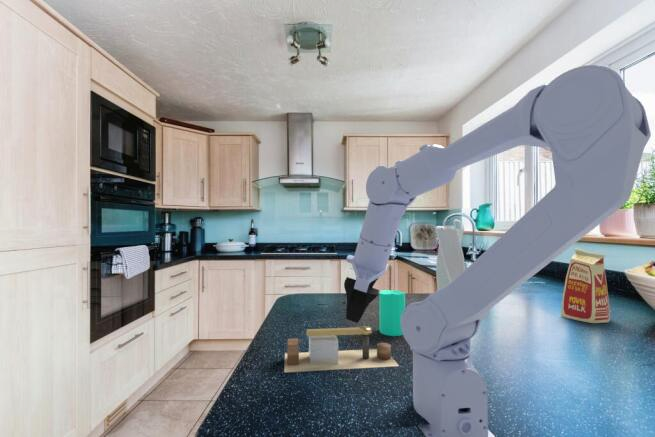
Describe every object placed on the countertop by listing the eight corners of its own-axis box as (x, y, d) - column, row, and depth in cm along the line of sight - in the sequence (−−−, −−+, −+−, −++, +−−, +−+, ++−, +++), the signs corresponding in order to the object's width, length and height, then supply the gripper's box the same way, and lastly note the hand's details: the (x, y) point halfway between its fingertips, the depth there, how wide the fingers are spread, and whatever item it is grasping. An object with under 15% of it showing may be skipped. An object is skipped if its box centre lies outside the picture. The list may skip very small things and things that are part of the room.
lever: (372, 334, 56) (372, 329, 56) (307, 337, 54) (307, 332, 54) (369, 330, 58) (369, 326, 58) (306, 333, 57) (306, 328, 57)
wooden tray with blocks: (399, 372, 53) (399, 341, 54) (284, 379, 51) (284, 346, 51) (385, 354, 61) (384, 326, 61) (284, 359, 59) (285, 330, 59)
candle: (406, 342, 68) (405, 288, 69) (379, 340, 69) (378, 287, 70) (404, 333, 74) (404, 283, 75) (379, 331, 75) (379, 282, 76)
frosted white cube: (338, 364, 54) (338, 340, 54) (310, 365, 53) (310, 341, 54) (334, 355, 58) (335, 332, 58) (308, 356, 57) (308, 333, 58)
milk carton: (560, 316, 89) (558, 248, 90) (578, 313, 93) (576, 247, 94) (598, 325, 81) (596, 250, 82) (616, 320, 85) (613, 249, 86)
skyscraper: (476, 332, 75) (473, 219, 76) (442, 332, 75) (441, 219, 76) (461, 322, 83) (459, 220, 84) (431, 322, 83) (430, 220, 84)
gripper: (360, 223, 59) (343, 285, 62) (344, 244, 45) (324, 322, 49) (396, 234, 57) (377, 296, 61) (391, 259, 44) (366, 338, 47)
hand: (356, 309), depth 55 cm, fingers open, 7 cm apart
